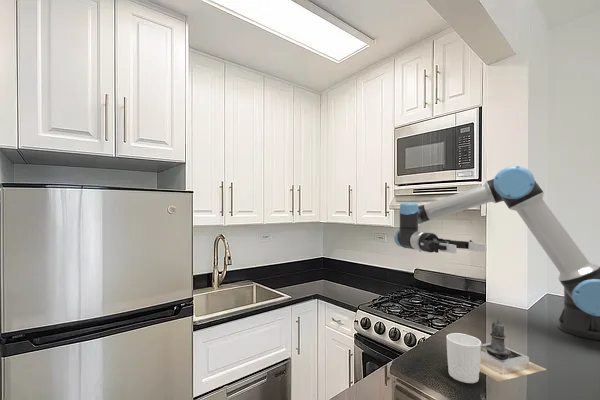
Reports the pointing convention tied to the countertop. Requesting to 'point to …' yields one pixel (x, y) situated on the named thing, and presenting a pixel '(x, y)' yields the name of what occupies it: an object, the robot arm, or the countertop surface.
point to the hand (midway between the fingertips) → (471, 248)
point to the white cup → (463, 357)
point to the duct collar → (504, 361)
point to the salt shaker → (498, 342)
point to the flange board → (499, 377)
